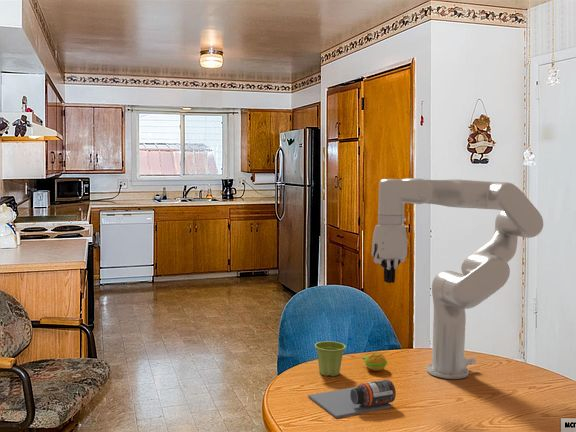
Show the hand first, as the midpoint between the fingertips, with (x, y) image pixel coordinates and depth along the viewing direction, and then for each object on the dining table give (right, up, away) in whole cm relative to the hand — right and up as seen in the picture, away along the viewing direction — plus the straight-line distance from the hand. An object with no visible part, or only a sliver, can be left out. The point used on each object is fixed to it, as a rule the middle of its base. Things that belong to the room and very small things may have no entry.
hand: (389, 282), depth 174 cm
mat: (-14, -30, -17) cm, 38 cm away
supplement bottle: (-3, -27, -18) cm, 33 cm away
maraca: (-3, -29, +10) cm, 30 cm away
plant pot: (-17, -29, +5) cm, 34 cm away
